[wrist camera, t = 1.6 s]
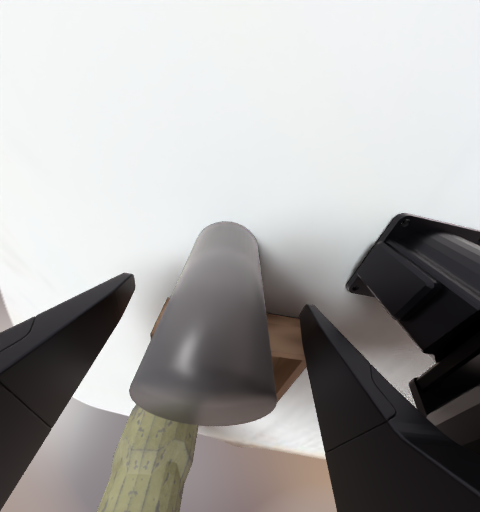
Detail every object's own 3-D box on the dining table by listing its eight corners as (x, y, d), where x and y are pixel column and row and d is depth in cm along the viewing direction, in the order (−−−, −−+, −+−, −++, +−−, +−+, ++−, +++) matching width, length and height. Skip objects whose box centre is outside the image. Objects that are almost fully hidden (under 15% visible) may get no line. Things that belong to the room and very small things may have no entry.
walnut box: (302, 319, 17) (314, 356, 14) (264, 379, 24) (267, 413, 21) (167, 297, 16) (150, 334, 13) (167, 367, 23) (156, 402, 20)
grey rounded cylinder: (265, 229, 12) (300, 377, 5) (249, 279, 15) (255, 430, 7) (198, 215, 12) (118, 355, 4) (193, 269, 14) (136, 419, 7)
